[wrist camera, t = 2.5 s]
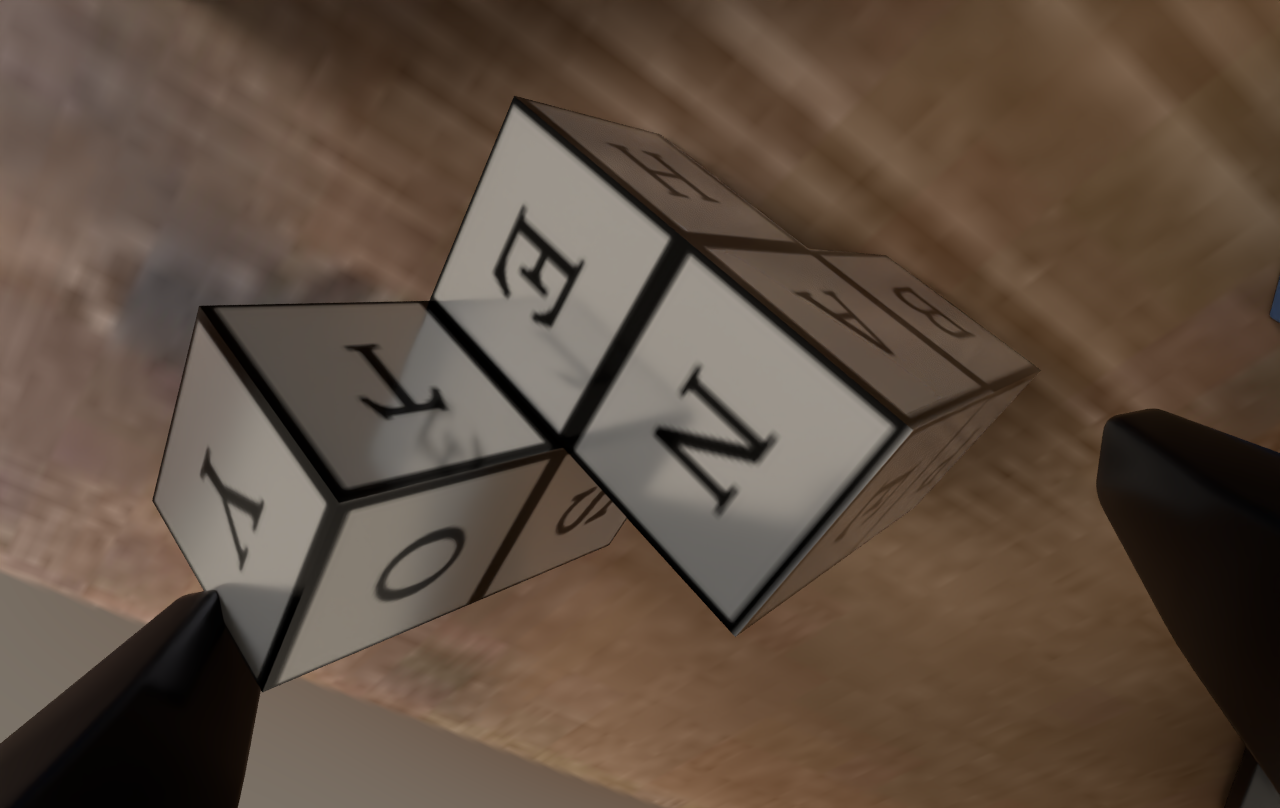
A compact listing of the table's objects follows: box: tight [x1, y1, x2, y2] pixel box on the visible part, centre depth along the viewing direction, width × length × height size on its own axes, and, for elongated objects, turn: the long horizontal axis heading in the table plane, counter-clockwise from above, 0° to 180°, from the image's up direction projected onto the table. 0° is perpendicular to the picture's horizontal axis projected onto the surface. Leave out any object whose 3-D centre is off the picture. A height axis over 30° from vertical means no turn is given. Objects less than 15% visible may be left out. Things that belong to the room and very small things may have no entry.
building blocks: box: [152, 96, 1041, 692], centre depth 9 cm, size 5×5×8 cm
